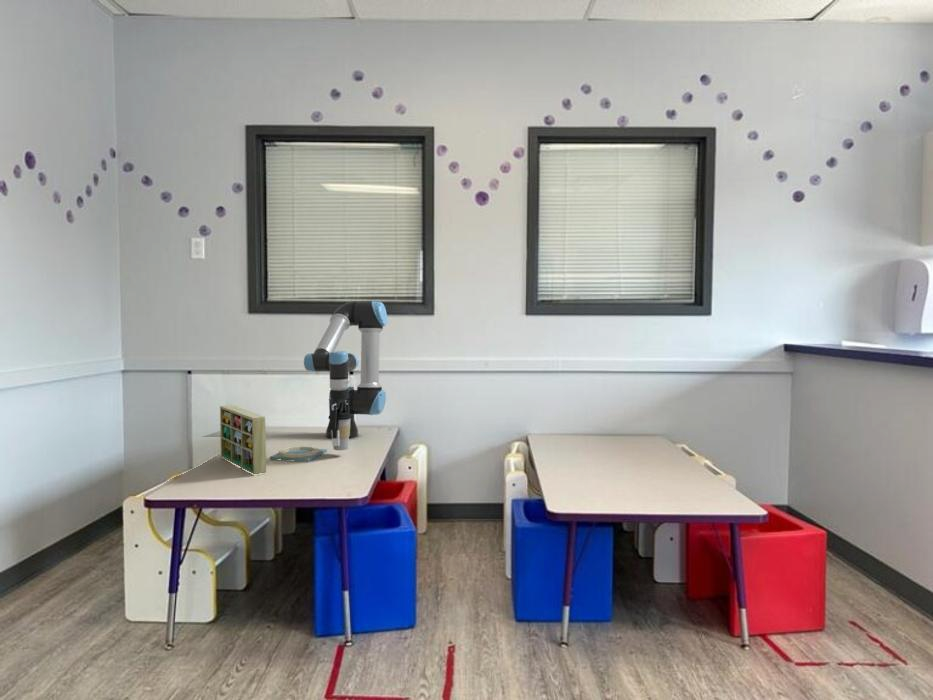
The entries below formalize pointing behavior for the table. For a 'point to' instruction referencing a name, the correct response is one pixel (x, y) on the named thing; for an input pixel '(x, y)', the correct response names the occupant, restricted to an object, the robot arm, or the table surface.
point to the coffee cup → (343, 430)
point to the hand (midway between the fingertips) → (340, 443)
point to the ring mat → (299, 453)
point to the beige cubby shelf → (243, 438)
